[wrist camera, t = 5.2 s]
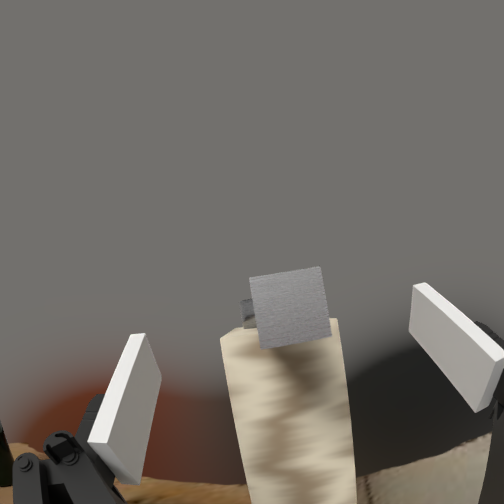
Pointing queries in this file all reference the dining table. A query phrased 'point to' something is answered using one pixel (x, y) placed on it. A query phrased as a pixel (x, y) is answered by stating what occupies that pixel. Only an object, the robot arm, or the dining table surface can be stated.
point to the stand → (292, 418)
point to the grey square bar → (287, 308)
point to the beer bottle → (5, 461)
